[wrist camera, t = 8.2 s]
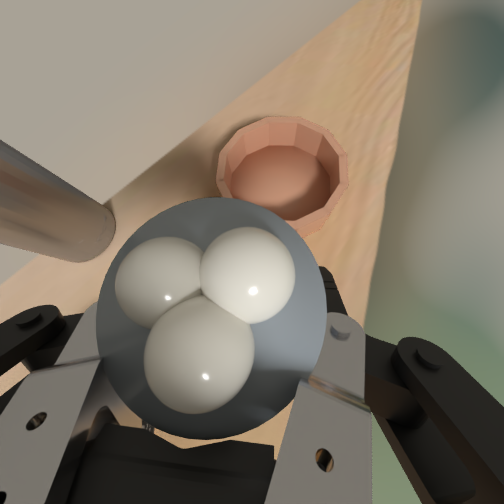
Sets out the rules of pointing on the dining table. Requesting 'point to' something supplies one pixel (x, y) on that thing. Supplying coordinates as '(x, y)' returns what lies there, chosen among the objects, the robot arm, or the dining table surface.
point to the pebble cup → (211, 318)
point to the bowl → (285, 170)
